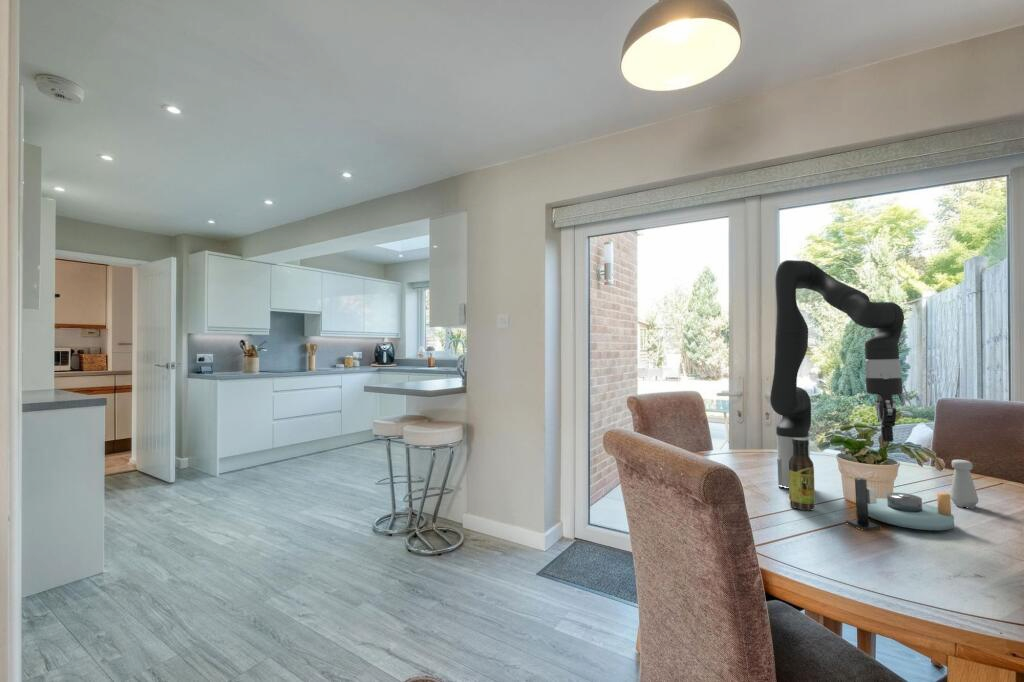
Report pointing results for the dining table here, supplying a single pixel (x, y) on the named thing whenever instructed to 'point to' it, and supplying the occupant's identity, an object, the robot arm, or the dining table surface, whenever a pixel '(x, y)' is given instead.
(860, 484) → the post
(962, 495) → the salt shaker
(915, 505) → the cover
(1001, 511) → the dining table surface
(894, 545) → the dining table surface
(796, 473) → the sauce bottle
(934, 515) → the turntable
